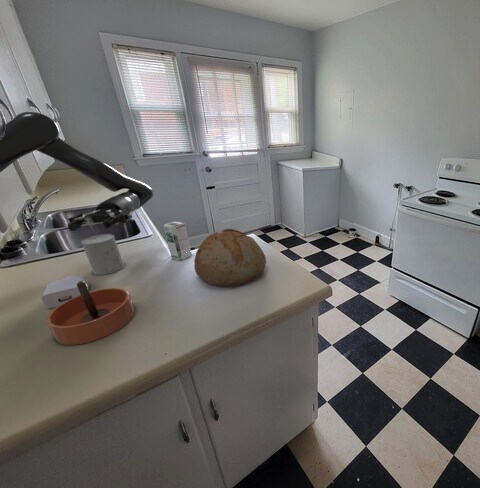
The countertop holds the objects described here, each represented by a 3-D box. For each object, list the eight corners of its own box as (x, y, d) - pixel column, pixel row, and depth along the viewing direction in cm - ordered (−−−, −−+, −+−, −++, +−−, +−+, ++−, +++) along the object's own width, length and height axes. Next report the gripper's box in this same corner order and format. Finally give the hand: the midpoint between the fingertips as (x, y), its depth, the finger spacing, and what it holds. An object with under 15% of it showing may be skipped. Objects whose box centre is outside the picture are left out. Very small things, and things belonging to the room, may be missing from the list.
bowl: (44, 354, 64) (34, 336, 62) (67, 313, 78) (59, 297, 76) (130, 330, 71) (124, 314, 69) (137, 297, 85) (132, 282, 83)
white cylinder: (124, 260, 109) (114, 232, 104) (124, 270, 101) (113, 240, 97) (94, 267, 104) (82, 237, 99) (92, 277, 97) (79, 246, 92)
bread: (189, 266, 104) (181, 230, 98) (247, 250, 116) (243, 217, 110) (208, 298, 84) (199, 255, 78) (275, 275, 97) (272, 237, 91)
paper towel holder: (78, 330, 70) (59, 291, 65) (85, 316, 76) (68, 279, 71) (108, 322, 73) (92, 284, 68) (112, 309, 78) (98, 273, 73)
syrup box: (170, 258, 110) (162, 225, 104) (183, 252, 115) (175, 220, 109) (180, 261, 108) (172, 227, 102) (192, 255, 113) (185, 222, 107)
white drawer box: (91, 278, 96) (86, 298, 85) (56, 286, 91) (47, 309, 80) (86, 266, 94) (81, 286, 83) (50, 274, 89) (40, 296, 78)
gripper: (87, 199, 86) (52, 215, 71) (137, 196, 88) (112, 211, 74) (96, 221, 89) (64, 241, 75) (143, 218, 91) (121, 236, 77)
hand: (88, 226), depth 74 cm, fingers open, 8 cm apart
